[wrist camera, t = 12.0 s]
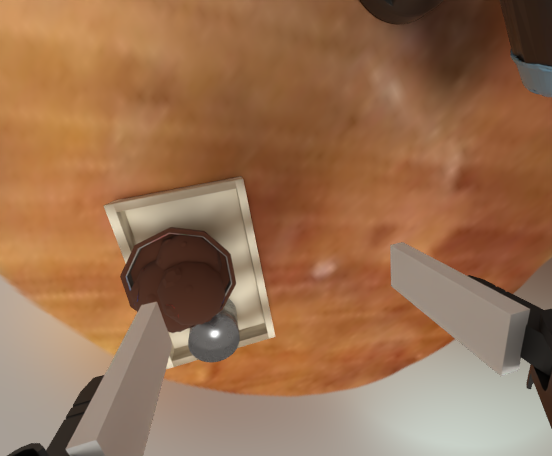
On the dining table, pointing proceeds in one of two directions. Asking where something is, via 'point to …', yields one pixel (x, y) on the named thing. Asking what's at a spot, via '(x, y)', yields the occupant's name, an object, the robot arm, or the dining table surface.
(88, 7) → the dining table surface
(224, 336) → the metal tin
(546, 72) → the robot arm
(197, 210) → the cream rectangular tray
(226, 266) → the ice cream bowl
